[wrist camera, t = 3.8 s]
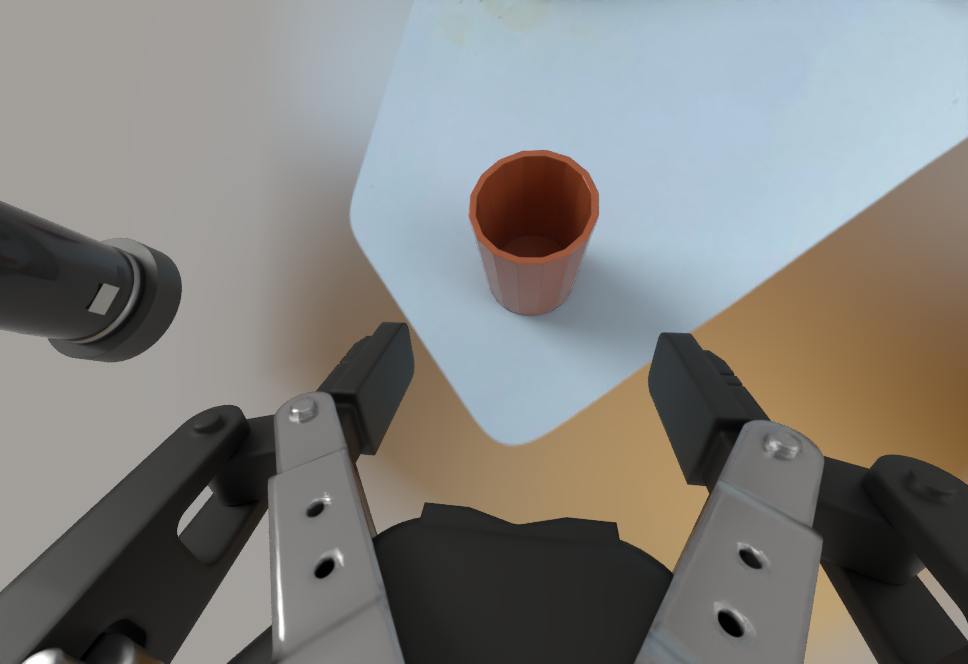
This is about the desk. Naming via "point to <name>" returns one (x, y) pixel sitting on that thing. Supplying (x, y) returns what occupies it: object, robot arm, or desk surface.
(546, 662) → the robot arm
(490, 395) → the desk surface
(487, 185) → the cup
